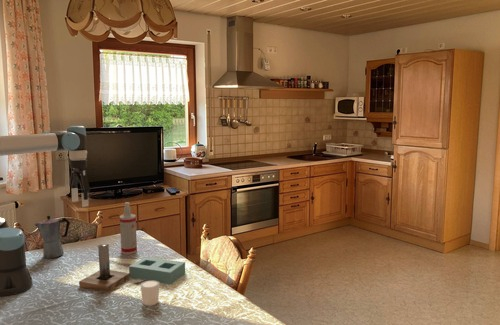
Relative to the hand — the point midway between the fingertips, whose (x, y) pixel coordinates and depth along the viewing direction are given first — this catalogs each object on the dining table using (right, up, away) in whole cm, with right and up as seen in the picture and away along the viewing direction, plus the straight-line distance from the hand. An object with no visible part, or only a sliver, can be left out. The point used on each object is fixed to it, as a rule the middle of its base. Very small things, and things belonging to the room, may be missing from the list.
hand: (80, 203), depth 199 cm
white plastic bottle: (+20, -25, +11) cm, 34 cm away
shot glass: (+43, -32, -43) cm, 69 cm away
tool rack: (+41, -29, -18) cm, 53 cm away
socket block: (+21, -30, -26) cm, 45 cm away
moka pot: (-15, -26, +6) cm, 31 cm away
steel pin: (+21, -30, -26) cm, 45 cm away
